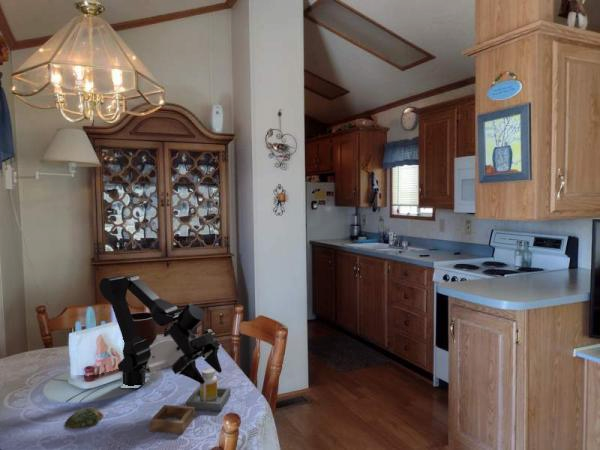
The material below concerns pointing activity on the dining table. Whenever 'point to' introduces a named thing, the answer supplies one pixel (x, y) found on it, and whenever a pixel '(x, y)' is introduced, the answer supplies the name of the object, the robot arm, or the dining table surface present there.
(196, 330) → the supplement box
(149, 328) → the mate gourd
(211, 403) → the charcoal tray
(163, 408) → the walnut collar
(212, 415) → the dining table surface
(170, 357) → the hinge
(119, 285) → the robot arm
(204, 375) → the supplement bottle
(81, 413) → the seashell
